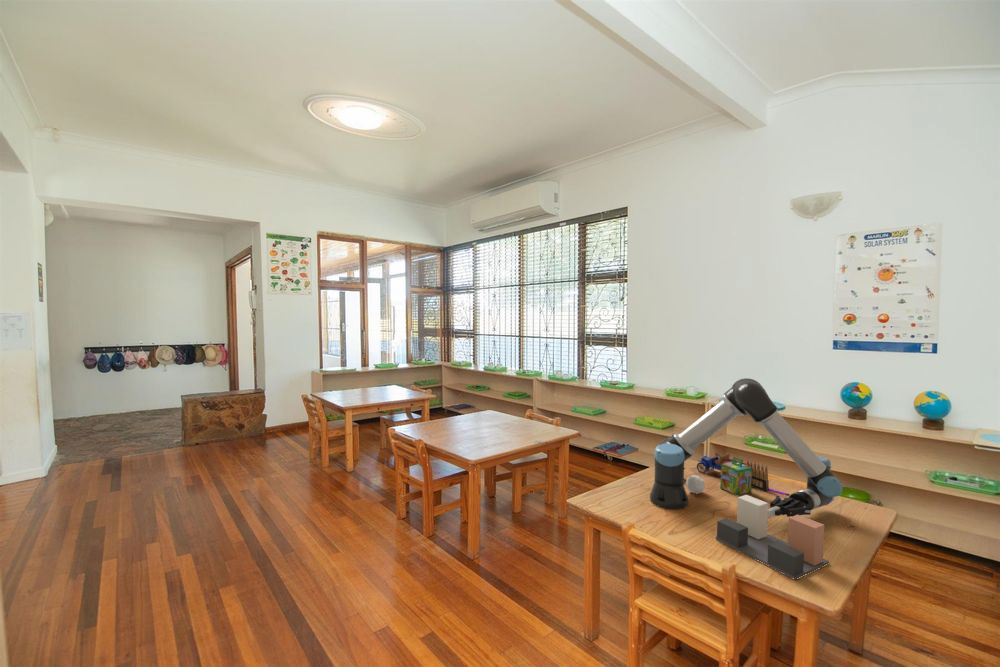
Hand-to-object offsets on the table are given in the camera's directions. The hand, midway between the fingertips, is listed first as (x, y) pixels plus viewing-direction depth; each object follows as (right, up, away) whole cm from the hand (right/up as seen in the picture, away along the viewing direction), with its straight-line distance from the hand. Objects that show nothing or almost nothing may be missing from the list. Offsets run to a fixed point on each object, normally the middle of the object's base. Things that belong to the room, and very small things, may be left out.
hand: (767, 514), depth 163 cm
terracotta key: (0, -6, -19) cm, 20 cm away
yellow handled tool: (+28, -5, +33) cm, 44 cm away
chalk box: (+8, -5, +37) cm, 38 cm away
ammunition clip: (+19, -4, +40) cm, 45 cm away
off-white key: (-8, -5, -3) cm, 10 cm away
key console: (-7, -7, -13) cm, 17 cm away
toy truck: (+11, -4, +54) cm, 55 cm away
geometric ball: (-11, -5, +35) cm, 37 cm away
